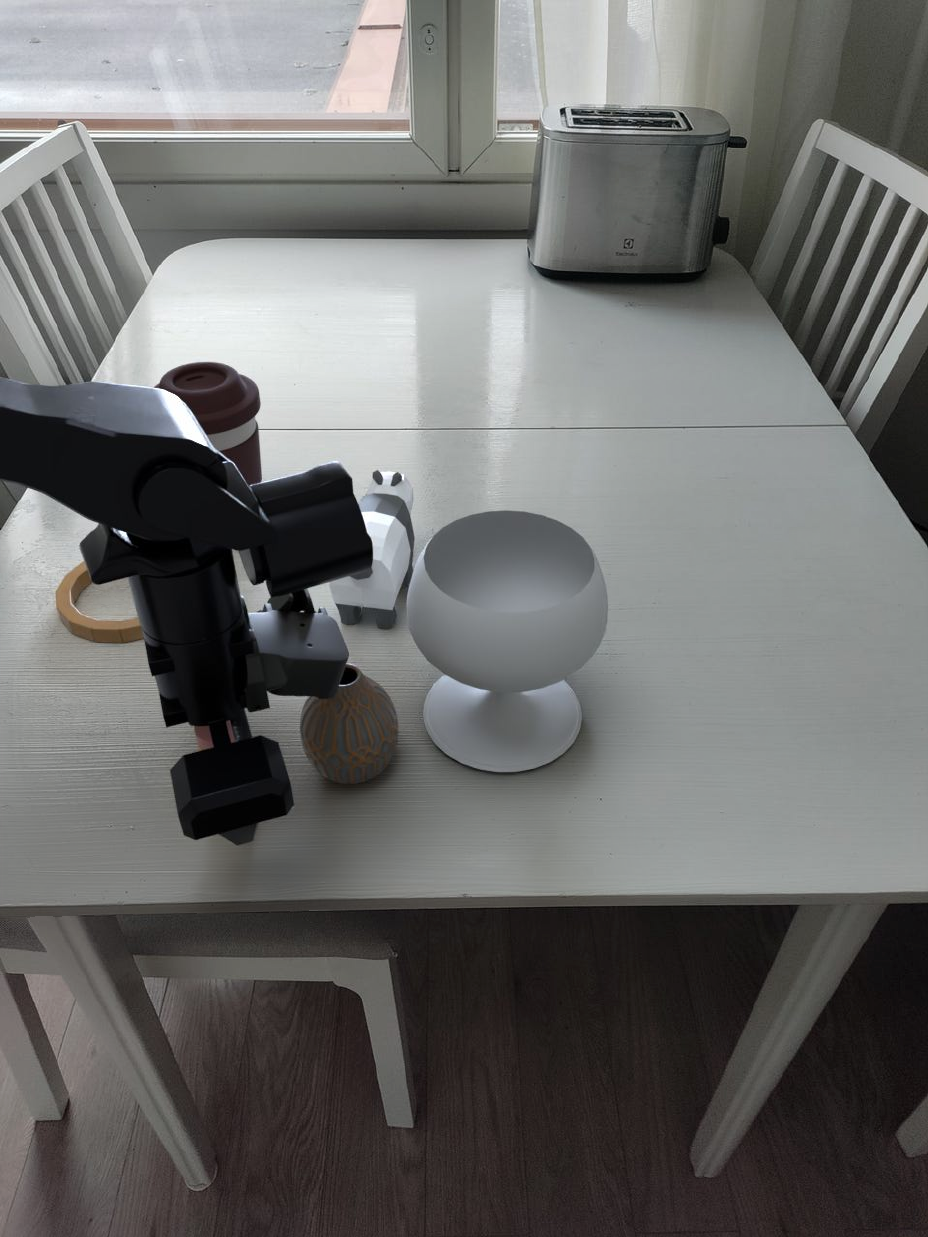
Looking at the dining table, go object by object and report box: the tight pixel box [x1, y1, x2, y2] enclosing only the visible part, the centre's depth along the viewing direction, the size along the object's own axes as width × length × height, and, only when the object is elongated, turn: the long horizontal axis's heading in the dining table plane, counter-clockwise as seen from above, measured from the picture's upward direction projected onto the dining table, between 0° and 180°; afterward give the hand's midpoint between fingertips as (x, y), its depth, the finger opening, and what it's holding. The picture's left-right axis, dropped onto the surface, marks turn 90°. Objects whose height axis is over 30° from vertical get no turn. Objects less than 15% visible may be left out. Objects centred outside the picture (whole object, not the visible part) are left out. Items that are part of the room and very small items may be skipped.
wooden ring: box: [55, 560, 144, 644], centre depth 84 cm, size 12×12×2 cm
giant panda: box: [329, 469, 416, 630], centre depth 83 cm, size 15×6×10 cm, turn 170°
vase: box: [299, 663, 399, 785], centre depth 67 cm, size 7×7×9 cm
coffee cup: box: [152, 361, 263, 488], centre depth 89 cm, size 10×10×15 cm
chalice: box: [406, 509, 609, 773], centre depth 69 cm, size 14×14×15 cm
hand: (232, 790), depth 64 cm, fingers open, 9 cm apart
